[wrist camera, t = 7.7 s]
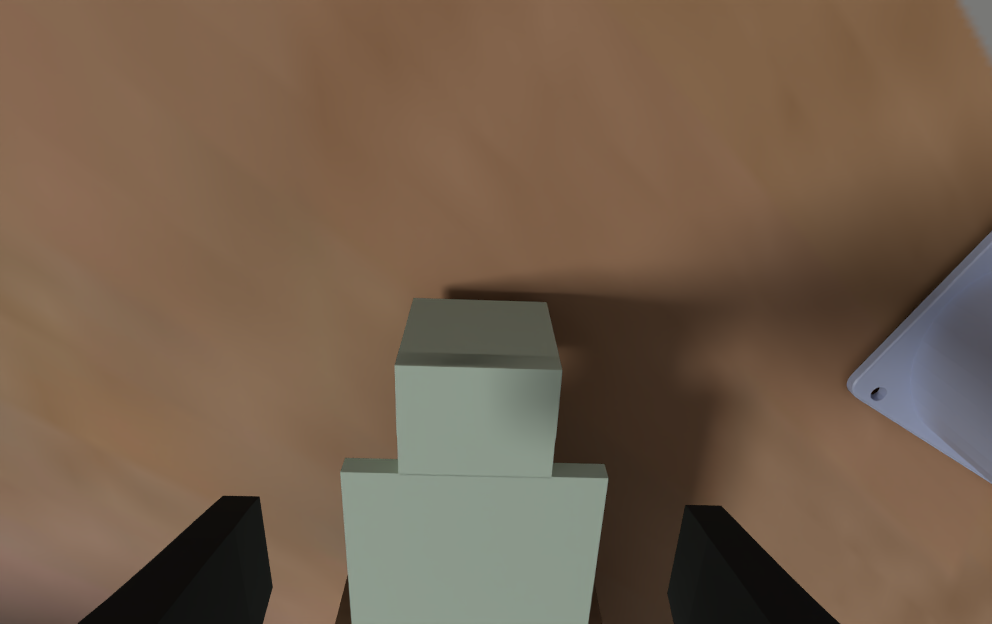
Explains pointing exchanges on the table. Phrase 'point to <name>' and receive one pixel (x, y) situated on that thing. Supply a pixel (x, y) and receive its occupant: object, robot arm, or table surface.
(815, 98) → the table surface
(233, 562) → the robot arm
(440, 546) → the lid
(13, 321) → the table surface
